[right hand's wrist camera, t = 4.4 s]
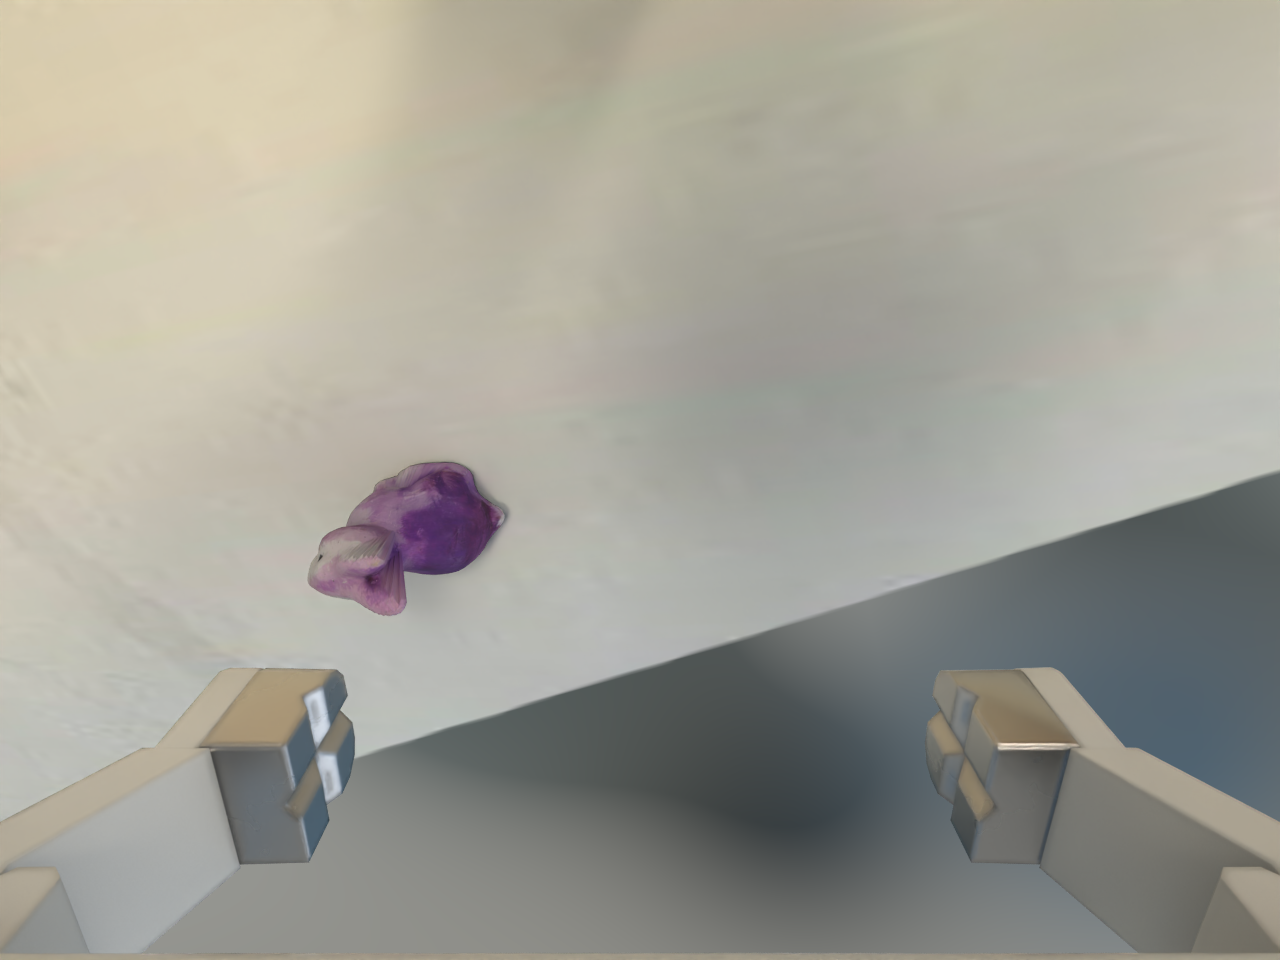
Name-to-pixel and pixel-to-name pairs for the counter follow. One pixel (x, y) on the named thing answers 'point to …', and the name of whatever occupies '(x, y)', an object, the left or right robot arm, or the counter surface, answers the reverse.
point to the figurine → (405, 536)
